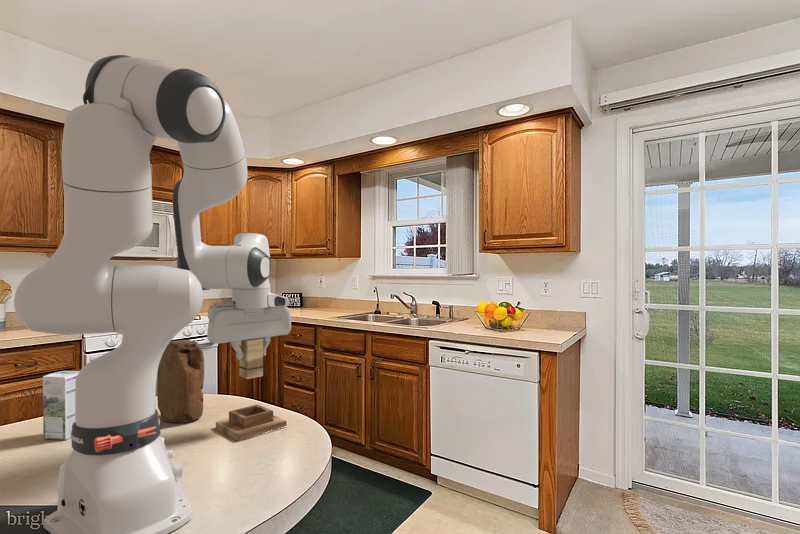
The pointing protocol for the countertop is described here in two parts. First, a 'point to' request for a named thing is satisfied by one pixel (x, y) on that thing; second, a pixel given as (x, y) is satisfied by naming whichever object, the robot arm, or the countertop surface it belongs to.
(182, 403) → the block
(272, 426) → the brown wooden socket base
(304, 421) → the countertop surface
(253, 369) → the peg
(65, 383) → the syrup box
